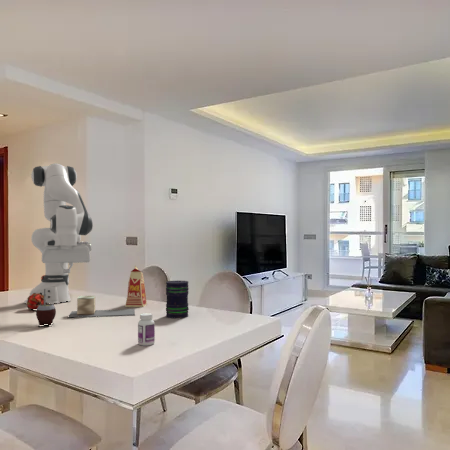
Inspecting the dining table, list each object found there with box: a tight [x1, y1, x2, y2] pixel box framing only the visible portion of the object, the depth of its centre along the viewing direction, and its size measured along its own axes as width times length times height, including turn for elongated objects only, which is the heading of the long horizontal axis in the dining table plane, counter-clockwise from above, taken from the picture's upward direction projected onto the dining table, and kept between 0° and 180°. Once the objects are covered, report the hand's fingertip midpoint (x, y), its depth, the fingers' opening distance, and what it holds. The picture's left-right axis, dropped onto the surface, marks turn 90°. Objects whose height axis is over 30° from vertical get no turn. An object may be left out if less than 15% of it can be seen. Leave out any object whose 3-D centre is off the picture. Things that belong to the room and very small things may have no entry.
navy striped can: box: [165, 280, 190, 319], centre depth 184 cm, size 10×10×15 cm
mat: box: [68, 308, 136, 318], centre depth 189 cm, size 28×14×1 cm, turn 103°
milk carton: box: [124, 265, 148, 308], centre depth 211 cm, size 9×9×20 cm
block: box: [76, 295, 96, 315], centre depth 188 cm, size 7×7×7 cm
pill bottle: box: [137, 312, 156, 347], centre depth 138 cm, size 5×5×10 cm
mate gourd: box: [35, 289, 57, 326], centre depth 165 cm, size 8×8×15 cm
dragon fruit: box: [26, 293, 48, 310], centre depth 199 cm, size 8×8×12 cm
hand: (66, 273), depth 186 cm, fingers closed
